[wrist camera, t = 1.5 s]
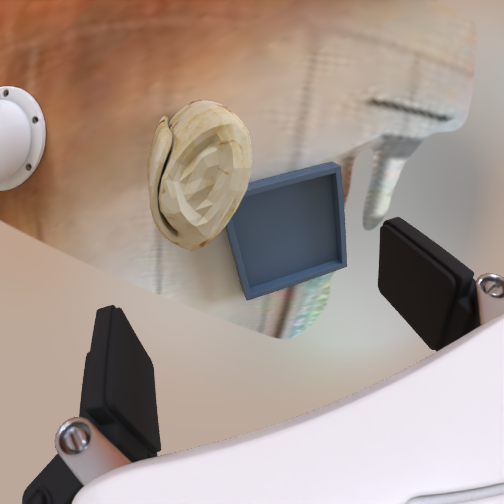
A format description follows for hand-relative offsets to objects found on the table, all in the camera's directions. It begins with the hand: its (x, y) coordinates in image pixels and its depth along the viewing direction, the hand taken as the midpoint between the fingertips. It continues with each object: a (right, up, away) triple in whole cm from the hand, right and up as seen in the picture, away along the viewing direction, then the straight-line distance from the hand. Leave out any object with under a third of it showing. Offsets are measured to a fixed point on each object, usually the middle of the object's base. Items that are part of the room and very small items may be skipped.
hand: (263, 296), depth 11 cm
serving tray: (+4, +4, +33) cm, 34 cm away
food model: (-8, +14, +24) cm, 29 cm away
